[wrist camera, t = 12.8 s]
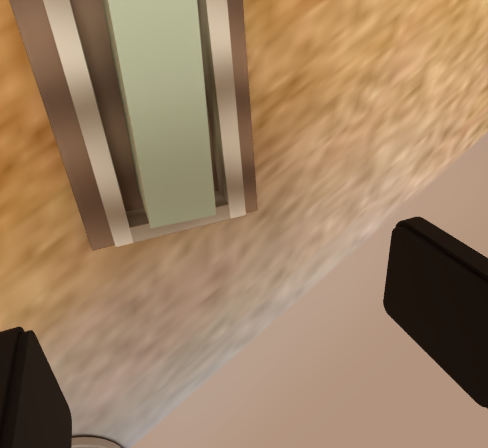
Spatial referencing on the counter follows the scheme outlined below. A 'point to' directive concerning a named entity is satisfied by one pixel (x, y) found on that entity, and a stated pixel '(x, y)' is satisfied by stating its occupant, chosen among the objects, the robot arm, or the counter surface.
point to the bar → (164, 105)
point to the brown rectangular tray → (113, 121)
